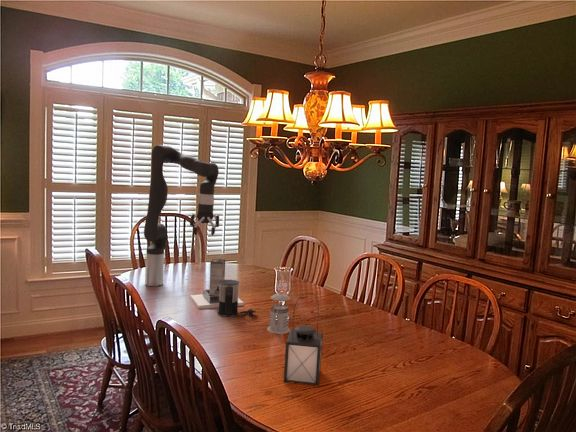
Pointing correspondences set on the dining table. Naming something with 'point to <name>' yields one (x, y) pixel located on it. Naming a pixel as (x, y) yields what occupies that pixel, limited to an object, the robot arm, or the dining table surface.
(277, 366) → the dining table surface
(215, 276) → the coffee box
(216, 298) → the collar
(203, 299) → the base board
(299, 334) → the lantern
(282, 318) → the glass oil lamp
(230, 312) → the milk frother
